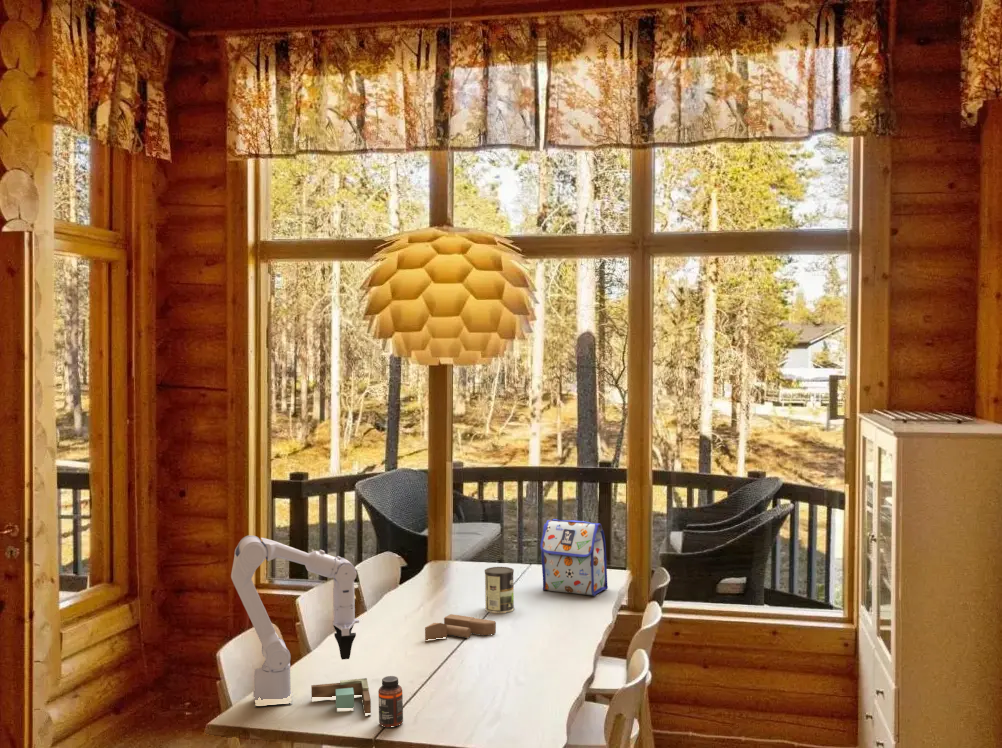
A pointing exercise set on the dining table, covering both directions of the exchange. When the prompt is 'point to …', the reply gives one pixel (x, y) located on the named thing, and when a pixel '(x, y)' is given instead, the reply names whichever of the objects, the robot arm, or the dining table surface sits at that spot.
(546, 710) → the dining table surface
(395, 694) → the supplement bottle
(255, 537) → the robot arm
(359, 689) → the corner arena
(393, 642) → the dining table surface
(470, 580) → the dining table surface
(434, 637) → the wooden block set
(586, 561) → the lunch bag
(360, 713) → the dining table surface
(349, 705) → the teal cube
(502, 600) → the coffee can
